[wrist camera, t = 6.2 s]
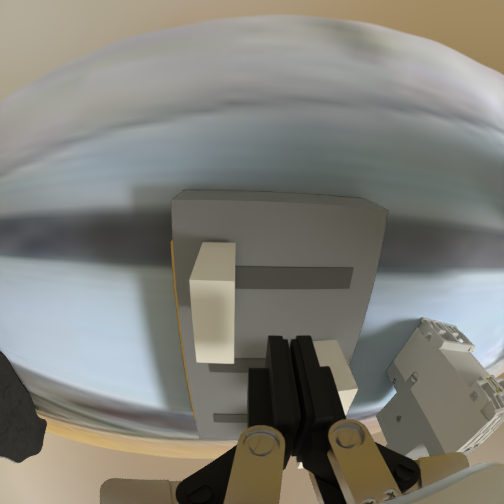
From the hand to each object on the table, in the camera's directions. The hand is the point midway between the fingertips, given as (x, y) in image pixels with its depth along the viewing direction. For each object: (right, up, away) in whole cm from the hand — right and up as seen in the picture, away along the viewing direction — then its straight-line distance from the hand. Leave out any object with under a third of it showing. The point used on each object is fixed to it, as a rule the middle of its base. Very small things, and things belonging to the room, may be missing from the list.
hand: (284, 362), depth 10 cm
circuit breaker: (+19, -10, +18) cm, 28 cm away
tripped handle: (-3, +3, +7) cm, 8 cm away
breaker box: (0, -3, +14) cm, 15 cm away
